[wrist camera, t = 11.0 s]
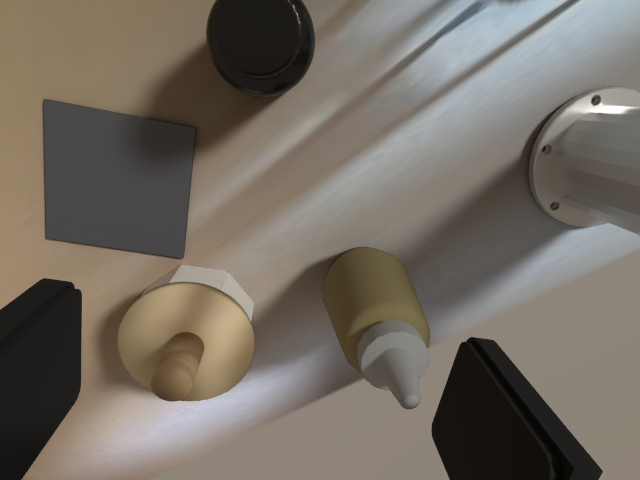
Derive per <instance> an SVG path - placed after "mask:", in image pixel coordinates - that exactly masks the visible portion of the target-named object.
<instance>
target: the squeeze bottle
mask: <svg viewBox="0 0 640 480" xmlns="http://www.w3.org/2000/svg"><path fill="white" fill-rule="evenodd" d="M323 301H324V303H325V306H326V308H327V311H328V314H329V316H330V319H331V321H332V324H333V326H334V329H335V332H336V334H337V337H338V339H339V342H340V345H341V347H342V350H343V352H344V354H345V356H346V358H347V360H348V362H349V363H350V364H351V365H352V366H353V367H354V368H356V369H357V370H358V371H359V372H360V373H363V375H364V377H365V379H366V380H367V381H368V382H369V383H371V384H372V385H373V386H374V387H377V388H381V389H384V390H390V391H391V392H392V393H393V395H394V396H395V397H396V399H397V400H398V402H399V403H400V404H401V406H402V407H404V408H406V409H413V408H415V407H417V406H418V405H419V403H420V393H419V384H418V379H420V378H421V377H422V375H423V374H424V372H425V370H426V368H427V367H428V361H429V353H428V350H427V348H428V346H429V339H430V329H429V326H428V323H427V321H426V318H425V315H424V313H423V310H422V308H421V305H420V303H419V300H418V298H417V295H416V293H415V290H414V288H413V285H412V283H411V280H410V278H409V275H408V273H407V270H406V268H405V266H404V265H403V264H402V263H401V262H400V261H399V260H398V259H397V258H396V257H395V256H394V255H392V254H389V253H386V252H383V251H381V250H378V249H374V248H369V247H356V248H353V249H351V250H348V251H346V252H344V253H343V254H342V255H341V256H340V257H339V258H338V259H337V260H336V261H335V262H334V264H333V265H332V267H331V268H330V270H329V272H328V274H327V276H326V279H325V281H324V283H323Z"/></svg>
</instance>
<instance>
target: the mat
mask: <svg viewBox="0 0 640 480" xmlns="http://www.w3.org/2000/svg"><path fill="white" fill-rule="evenodd" d="M195 135H196V128H195V127H190V126H184V125H179V124H174V123H169V122H163V121H158V120H153V119H147V118H142V117H137V116H132V115H126V114H121V113H116V112H111V111H105V110H100V109H95V108H90V107H84V106H79V105H74V104H69V103H63V102H58V101H53V100H48V99H44V150H45V202H46V238H50V239H56V240H63V241H70V242H76V243H83V244H90V245H96V246H103V247H110V248H116V249H123V250H130V251H136V252H143V253H150V254H156V255H163V256H170V257H176V258H183V257H184V250H185V240H186V229H187V219H188V209H189V198H190V188H191V177H192V167H193V156H194V146H195Z"/></svg>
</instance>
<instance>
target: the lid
mask: <svg viewBox="0 0 640 480" xmlns="http://www.w3.org/2000/svg"><path fill="white" fill-rule="evenodd" d="M117 341H118V350H119V355H120V357H121V360H122V362H123V364H124V366H125V368H126V369H127V371H128V372H129V374H130V375H131V376H132V377H133V378H134V379H135V380H136V381H137V382H138V383H139V384H141V385H142V386H143V387H145V388H146V389H148V390H149V391H151V392H153V393H155V395H156V396H158V397H159V398H161V399H163V400H166V401H179V400H180V401H200V400H206V399H210V398H214V397H216V396H219V395H221V394H223V393H225V392H227V391H229V390H230V389H232V388H233V387H234V386H236V385H237V384H238V383H239V382H240V381H241V380H242V378H243V377H244V376H245V375H246V373H247V371H248V370H249V368H250V365H251V363H252V359H253V355H254V347H255V334H254V330H253V326H252V323H251V321H250V319H249V317H248V315H247V313H246V312H245V310H244V309H243V308H242V306H241V305H240V304H239V303H238V302H237V301H236V300H234V299H233V298H232V297H231V296H229V295H228V294H226V293H224V292H223V291H221V290H219V289H217V288H215V287H212V286H209V285H206V284H202V283H197V282H173V283H167V284H164V285H160V286H158V287H155V288H153V289H151V290H149V291H148V292H146V293H144V294H143V295H142V296H141V297H139V298H138V299H137V300H136V301H135V302H134V303H133V305H132V306H131V307H130V309H129V310H128V311H127V313H126V314H125V316H124V317H123V319H122V322H121V324H120V327H119V330H118V338H117Z"/></svg>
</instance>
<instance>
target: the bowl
mask: <svg viewBox="0 0 640 480" xmlns="http://www.w3.org/2000/svg"><path fill="white" fill-rule="evenodd" d="M173 282H197V283H202V284H206V285H209V286H212V287H215V288H217V289H219V290H221V291H223V292H224V293H226V294H228V295H229V296H231V297H232V298H233V299H234V300H236V301H237V302H238V303H239V304H240V305H241V306H242V308H243V309H244V310H245V312H246V313H247V315H248V317H249V319H250V321H252V315H253V309H254V302H253V301H252V300H251V299H250V298H249V296H248V295H247V294H246V293H245V292H244V290H243V289H242V288H241V287H240V286H239V285H238V283H237V282H236V281H235V280H234V279H233V277H232V276H231V275H230V274H229V273H228V272H227V271H223V270H216V269H210V268H203V267H196V266H189V265H183V264H182V265H180V266H178V267H177V268H175V269H174V270H172V271H171V272H170V273H168V274H167V275H165V276H164V277H162V278H161V279H159V280H158V281H156V282H155V283H154V284H152V285H151V286H149V287H148V288H147V289H146V290H145V291H144V293H146V292H148V291H149V290H151V289H153V288H155V287H158V286H160V285H164V284H167V283H173ZM144 293H143V294H144ZM143 294H142V295H143ZM142 295H141V296H142Z"/></svg>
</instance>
